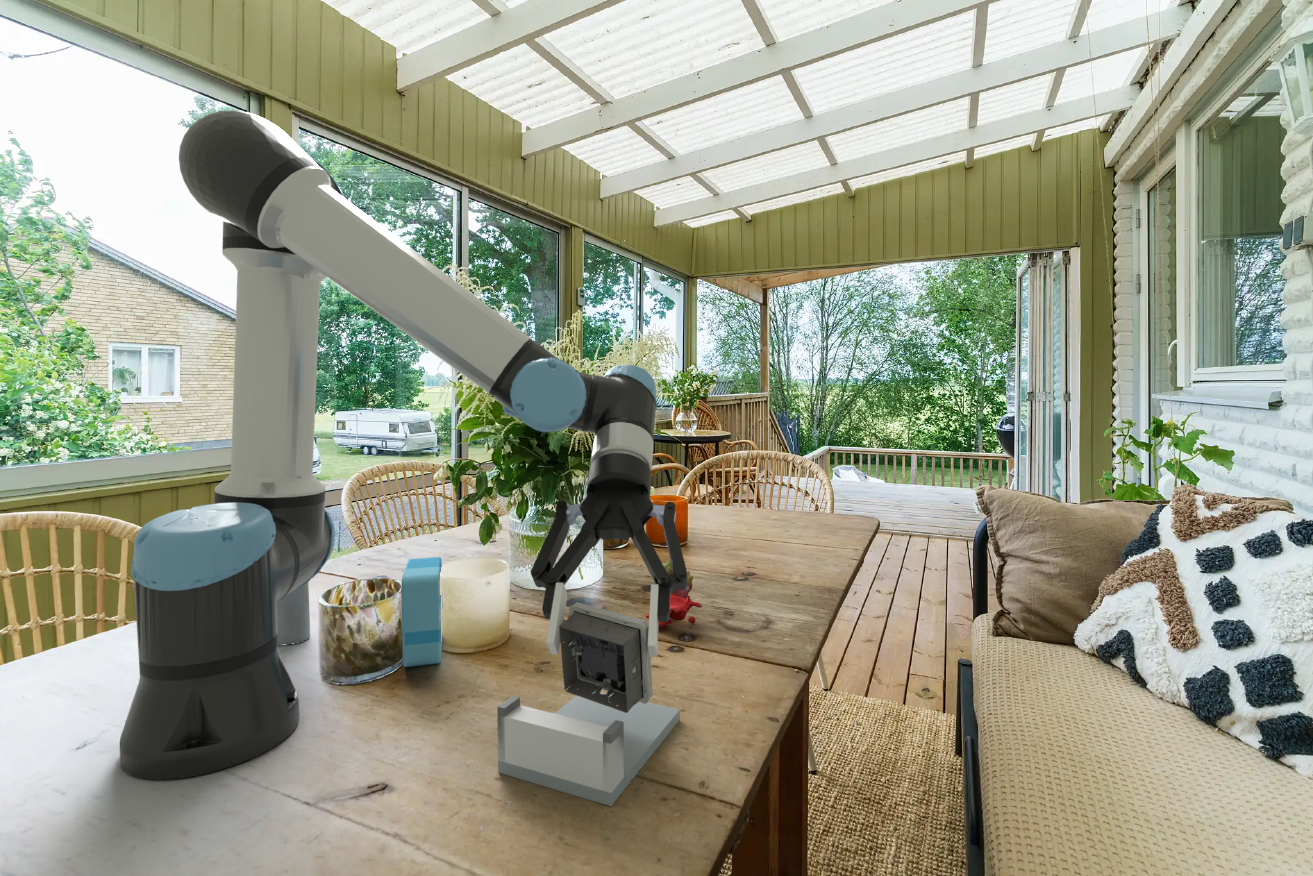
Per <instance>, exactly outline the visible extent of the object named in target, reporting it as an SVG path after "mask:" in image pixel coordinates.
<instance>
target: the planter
mask: <svg viewBox="0 0 1313 876" xmlns="http://www.w3.org/2000/svg"><path fill="white" fill-rule="evenodd" d="M309 588H310V587H309V582H307V583H306V584H304V585H303V586H301V587H299V588H297V589H295V590H294V591H293V592H291V593H290V594H288V595H287V596H286V597H284V598H283V599H281V600H280V601H279V602H277V629H278V644H292V643H297V642H301V643H303V642H305V641H304V640H306V641H307V640H309V639H310V638H311V621H310V620H311V619H310V618H311V617H310V594H309V593H310V591H309V590H310V589H309ZM308 638H309V639H308ZM302 641H303V642H302ZM297 644H298V643H297ZM292 645H293V644H292Z"/></svg>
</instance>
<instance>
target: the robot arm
mask: <svg viewBox="0 0 1313 876" xmlns="http://www.w3.org/2000/svg"><path fill="white" fill-rule="evenodd" d="M178 163H179V171H180V174H181V176H182V180H183V182H184V185H185V186H186V187H187V190H188V191H189V193H190V194H191V196H192V197H193V198H194V199H195V201H196V202H197V203H198V204H199V205H200V206H201V207H202V208H203V209H204V210H206V211H207V212H208V213H209V214H211V215H212V216H214V217H215V218H217V219H218V220H220V221H222V250H221V251H222V252H221V253H222V256H224V258H226V259H227V261H228V262H229V263H230V264H231V265H232V266H233V267H234V268H235V269H236V271H237V273H236V274H237V278H236V281H237V282H236V299H235V300H236V304H235V306H236V307H235V333H234V334H235V337H234V342H235V343H234V362H233V363H234V367H233V369H234V370H233V371H234V372H233V393H232V394H233V395H232V396H233V397H232V398H233V400H232V401H233V402H232V423H231V425H232V428H231V429H232V430H231V432H232V433H231V453H230V454H231V458H230V459H231V460H230V462H231V463H230V473H229V474H228V476H227V477H226V478H225V479H223V480H222V481H221V482H220V483H219V484H217V485H216V486H215V487H214V498H213V499H214V501H213V503H210V504H203V505H196V506H193V507H191V508H189V509H177V510H175V511H172V512H168V513H165V514H163V515H160V516H158V517H155V518H154V519H152V520H150V521H148V522H147V523H145V524H144V525H143V526H141V528H140V529H139V530H138V532H137V533H136V535H135V537H134V540H133V541H134V542H133V556H132V557H133V558H132V559H131V560H132V561H131V567H130V569H131V575H132V577H133V587H134V602H135V603H134V604H135V605H134V606H135V619H136V621H135V622H136V633H137V635H136V636H137V650H138V663H139V664H138V665H139V666H138V667H139V669H138V670H139V680H138V683H137V686H136V689H135V694H134V696H133V699H132V702H131V705H130V707H129V711H128V714H127V716H126V719H125V723H124V726H123V729H122V730H121V734H120V737H119V759H120V761H119V762H120V766H121V768H122V770H123V771H124V773H126V774H129V775H131V776H133V777H135V778H139V779H144V780H145V779H146V780H171V779H173V780H174V779H183V778H190V777H195V776H200V775H204V774H208V773H209V774H210V773H212V772H213V773H214V772H216V771H220V770H223V769H226V768H227V769H228V768H229V767H232V766H235V765H238V764H241V763H243V762H246V761H248V760H251V759H253V758H255V757H257V756H259V755H261V754H264V753H266V752H267V751H269V750H271V749H272V748H274V747H276V746H277V745H279V744H280V743H282V741H284V740H285V739H287V738H288V737H289V736H290V735H291V734H292V733H293V732H294V731H295V729H296V728H297V726H298V725H299V722H300V699H299V695H298V692H297V690H296V688H295V686H294V683H293V681H292V679H291V676H290V674H289V672H288V670H287V668H286V665H285V663H284V661H283V659H282V656H281V654H280V652H279V645H278V629H277V602H279V601H280V600H281V599H283V598H284V597H286V596H287V595H288V594H290V593H291V592H293V591H294V590H295V589H297V588H299V587H301V586H303V585H304V584H306V583H307V582H308V583H309V582H310V581H311V580H312V579H313V578H314V577H315V576H316V575H317V574H319V572H320V571H321V570H322V569H323V567H324V566H325V564H326V563H327V562H328V560H329V559H330V557H331V554H332V553H333V550H334V547H335V542H336V528H335V523H334V521H333V519H332V516H331V514H330V513H329V512H328V511H327V510H326V508H325V507H326V506H325V505H326V486H325V485H324V484H323V483H322V482H321V480H319V479H318V478H317V477H316V476H315V474H314V473H313V469H314V467H313V466H314V445H315V443H314V442H315V424H316V423H315V420H316V418H315V416H316V400H317V399H316V396H317V395H316V394H317V372H318V366H317V365H318V351H319V350H318V348H319V347H318V346H319V327H320V326H319V322H320V301H321V300H320V299H321V298H320V297H321V294H320V293H321V283H322V281H324V280H325V279H326V278H328V280H329V279H330V280H331V281H332V282H333V283H334V284H336V285H338V286H339V287H340V288H342V289H343V290H344V291H346V292H347V293H349V294H350V295H352V296H353V297H354V298H356V299H357V300H359V301H360V302H361V303H362V304H364V305H365V306H367V307H368V308H370V309H371V310H372V311H373V312H375V313H376V314H378V315H379V316H381V317H382V318H383V319H384V320H386V321H388V322H389V323H390V324H391V325H393V326H395V328H398V329H399V330H400V331H401V332H403V334H406V335H407V336H409V338H412V340H414V341H415V342H417V343H418V344H420V345H421V346H422V347H424V349H426V350H428V351H429V352H431V353H432V354H434V355H435V356H437V357H438V358H439V359H440V360H442V362H443V361H444V362H445V363H446V364H447V365H449V366H450V367H451V368H453V369H454V370H455V371H457V372H459V374H461V375H462V376H464V377H466V378H467V379H468V380H470V381H471V382H472V383H474V384H475V385H477V386H478V387H480V388H481V389H482V390H483V391H485V392H486V393H488V395H490V396H492V397H493V398H494V399H495V400H496V401H498V402H499V403H500V404H502V410H503V412H504V414H505V415H507V416H509V417H512V418H517V419H519V420H520V422H522V423H523V424H525V425H526V426H528V427H530V428H531V429H533V430H535V431H537V432H542V433H553V432H559V431H560V432H561V431H564V429H571V430H574V431H575V430H576V431H581V432H585V433H591V434H594V438H593V445H592V450H591V455H590V456H591V457H590V466H589V470H588V478H587V485H586V492H585V496H584V498H583V499H582V500H581V502H580V503H578V504H577V503H576V504H567V502H566V501H565V500H558V501H557V502H556V505H555V518H554V520H553V522H552V524H551V526H550V529H549V530H548V532H547V535H546V537H545V540H544V542H543V543H542V546H541V548H540V550H539V552H538V555H537V557H536V559H535V561H534V563H533V565H532V567H531V570H530V575H531V578H532V580H533V583H534V584H535V587H537V588H544V589H545V590H544V596H543V601H542V602H543V603H542V614H543V616H544V618H545V620H549V623H548V628H547V629H548V631H547V635H546V641H545V642H546V643H545V645H546V646H547V649H548V651H549V654H550V655H559V654H560V648H561V643H560V628H559V627H560V625H561V624H563V623H564V622H565V621H564V619H565V613H566V606H567V601H568V593H567V590H566V587H565V585H566V584H567V582H568V581H570V578H571V577H572V576H573V574H574V573H575V571H576V570H577V569H578V568H579V566H580V565H581V563H582V562H583V561H584V559H585V558H586V557H587V555H588V553H590V551H591V550H592V549H593V548H594V547H596V546H597V544H598V543H599V542H600V540H602V541H603V540H607V541H609V540H613V539H617V540H622V541H629V539H631V540H632V542H633V545H634V546H635V548H636V549H637V551H638V552H639V554H640V556H641V558H642V561H643V563H644V564H645V566H646V569H647V570H648V572H649V574H650V577H651V578H652V580H653V581H654V584H650V595H649V596H650V597H649V598H650V599H649V613H648V614H649V619H648V625H649V630H648V651H649V657H651V658H657V657H658V641H659V640H658V638H659V626H658V622H668V620H670V619H671V618H670V595H671V593H672V592H673V591H675V590H678V589H679V590H685V589H686V588H687V586H688V581H687V572H688V570H687V566H686V562H684V561H685V559H684V554H683V552H682V547H681V543H680V539H679V536H678V535H679V534H678V532H677V531H678V530H677V528H676V527H677V526H676V522H677V511H676V510H677V509H676V508H677V507H676V503H675V502H673V501H668V502H666V503H665V505H661V504H660V505H659V504H654V503H653V501H652V500H651V491H652V469H653V459H654V457H653V456H654V443H655V442H654V439H655V437H654V435H655V424H656V413H657V411H656V410H657V408H658V402H657V390H656V389H657V387H656V382H655V380H654V378H653V376H652V374H650V372H649V371H647V370H646V369H644V368H642V367H640V366H638V365H635V364H629V363H628V364H625V365H615V366H613V367H611V368H610V369H608V370H607V371H606V373H605V374H604V376H603V375H598V374H597V375H595V374H589V373H585V372H581V371H578V370H577V369H576V368H574V367H573V366H572V365H571V364H569V363H568V362H566V361H565V360H562V359H559V358H558V357H556V356H555V355H554V354H553V353H552V352H550V351H549V350H547V349H546V348H544V347H543V346H542V345H540V344H539V343H537V342H536V341H534V340H533V339H532V338H531V337H530V336H529V335H528V334H526V333H525V332H523V331H522V330H521V329H519V328H518V327H517V326H515V325H514V324H513V323H511V322H510V321H509V320H508V319H506V318H505V317H504V316H502V315H501V314H500V313H498V312H497V311H496V310H494V309H493V308H492V307H490V306H489V305H487V304H486V303H485V302H484V301H482V300H481V299H479V298H478V297H477V296H475V295H474V294H473V293H472V292H470V291H469V290H468V289H466V288H465V287H463V285H461V284H460V283H458V282H457V281H455V280H454V279H453V278H451V276H449V275H448V274H446V273H445V272H443V270H441V269H440V268H438V267H437V266H436V265H434V264H433V263H432V262H430V261H428V259H426V258H425V257H424V256H422V255H421V254H420V253H418V252H417V251H416V250H415V249H413V248H412V247H410V246H409V245H408V244H406V243H405V242H404V241H402V240H401V239H400V238H398V237H397V236H396V235H394V234H393V233H392V232H390V230H388V229H386V228H385V227H384V226H382V225H381V224H380V223H379V222H377V221H376V220H375V219H373V218H372V217H370V216H369V215H368V214H366V213H365V211H363V210H361V209H360V208H358V207H357V206H356V205H354V204H353V203H352V202H350V201H349V200H347V199H346V198H345V195H344V193H343V191H342V190H341V188H340V187H339V184H338V182H337V181H336V180H335V178H334V176H333V175H332V174H331V173H330V172H329V170H327V169H326V168H325V166H323V165H322V164H321V163H319V162H318V161H317V160H316V159H314V158H312V157H311V156H310V155H309V154H308V153H307V152H305V150H304V149H303V148H302V147H301V146H300V145H299V144H298V143H297V142H296V141H294V139H293V138H292V137H290V136H289V134H288V133H286V131H284V130H283V129H281V128H280V127H279V126H278V125H276V124H275V123H273V122H271V121H270V120H268V119H266V118H264V117H261V116H260V115H258V114H254V113H251V112H248V111H242V110H241V111H240V110H233V109H232V110H220V111H215V112H211V113H209V114H206V115H204V116H202V117H201V118H199V119H197V120H196V121H195V122H194V123H193V124H191V125H190V127H189V128H188V129H187V131H186V133H184V135H183V137H182V140H181V143H180V145H179V151H178ZM579 516H580V517H581V516H582V519H583V520H584V522H583V524H582V526H581V528H580V531H579V533H578V534H577V535H576V536H575V538H574V539H573V541H572V542H571V543H570V545H569V546H568V547H567V548H566V550H565V551H564V552H563V554H562V555H561V557H560V558H559V559H558V557H559V555H560V552H561V550H562V548H563V546H564V544H565V542H566V539H567V537H568V534H569V531H570V526H573V525H574V523H575V522H576V520H577V518H578V517H579ZM652 518H655V519H656V521H657V524H659V526H661V527H663V534H664V539H665V543H666V547H667V548H666V549H667V553H668V557H669V560H670V561H671V565H672V569H673V574H670V575H669V574H668V573H667V572H666V570H665V568H664V564H663V563H662V561H661V559H660V556H659V555H658V553H657V552H656V549H655V548H654V546H653V543H652V542H651V540H650V538H649V536H648V534H647V533H646V530H645V525H646V524H647V523H648V522H649V521H650V520H651V519H652ZM557 559H558V560H557ZM556 561H557V562H556Z"/></svg>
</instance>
